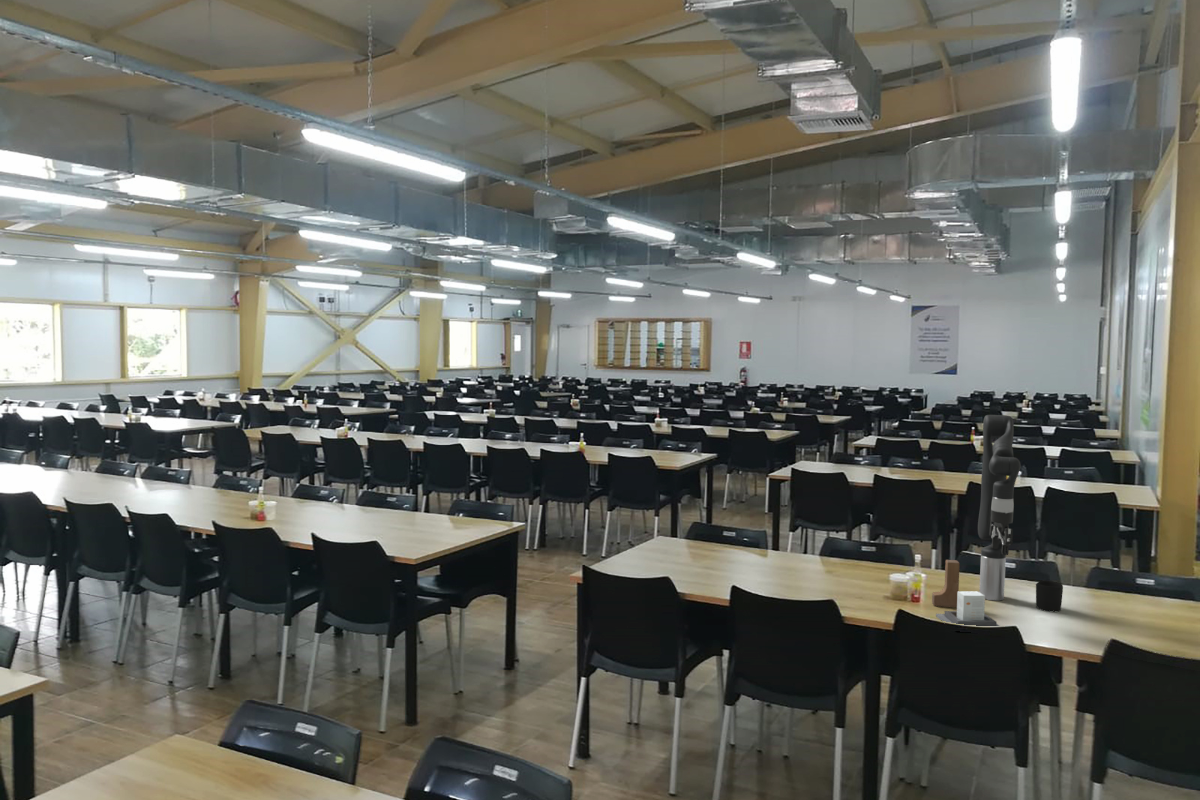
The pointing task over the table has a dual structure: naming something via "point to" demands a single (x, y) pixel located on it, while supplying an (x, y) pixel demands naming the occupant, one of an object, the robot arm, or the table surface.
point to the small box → (970, 605)
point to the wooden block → (948, 586)
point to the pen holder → (1049, 595)
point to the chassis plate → (952, 617)
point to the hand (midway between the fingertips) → (999, 551)
